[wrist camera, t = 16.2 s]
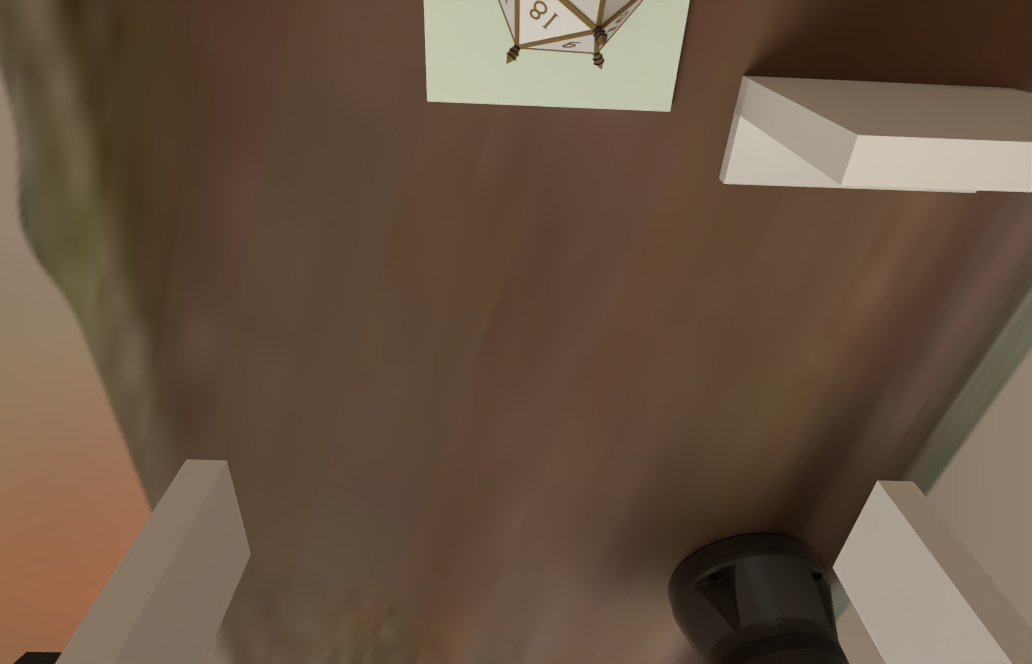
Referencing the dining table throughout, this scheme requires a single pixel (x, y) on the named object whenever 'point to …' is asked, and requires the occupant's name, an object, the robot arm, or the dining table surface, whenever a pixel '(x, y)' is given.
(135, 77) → the dining table surface
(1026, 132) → the screen
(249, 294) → the dining table surface
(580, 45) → the game die
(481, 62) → the tile
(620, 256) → the dining table surface
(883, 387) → the dining table surface
